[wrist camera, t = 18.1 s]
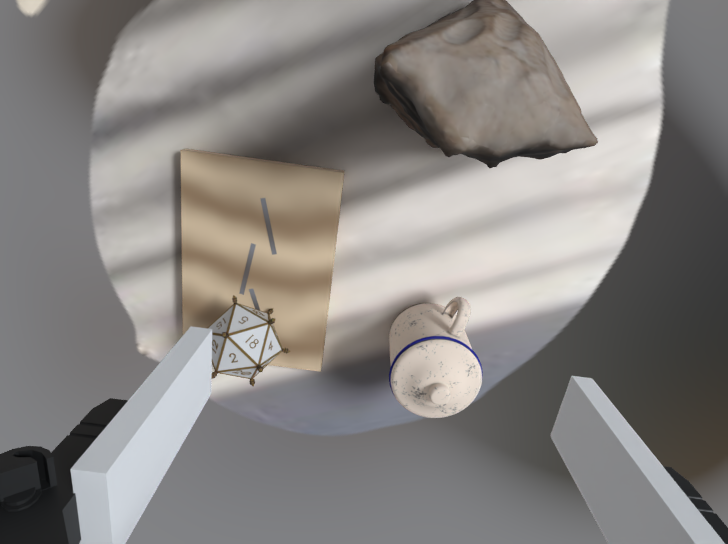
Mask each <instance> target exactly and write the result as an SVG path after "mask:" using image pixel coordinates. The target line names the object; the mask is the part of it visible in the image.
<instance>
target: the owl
mask: <svg viewBox="0 0 728 544" xmlns="http://www.w3.org/2000/svg"><path fill="white" fill-rule="evenodd" d="M374 86H375V91H376V93H377V94H378V95H379V96H380V100H381V101H382V102H383V103H385V104H390V105H391V107H392V108H393V109H394V110H395V111H396V113H397V114H398V115H399V117H400V118H401V119H402V120H403V121H404V122H405V123H406V124H407V125H408V127H409V128H411V129H413V130H415V131H416V132H417V133H418V134H420V135H421V136H422V137H424V139H425V140H426V142H427V143H428V145H430V146H431V147H434V148H441V149H442V151H443V152H444V154H445V155H446V156H448V157H450V156H452V155H458V154H463V155H466V156H468V157H471V158H475V159H477V160H479V161H481V162H483V163H485V164H487V166H488V167H489V168H492V167H497V165H498V164H499V163H500V162H502V161H505V160H507V159H510V158H513V157H517V156H521V157H530V158H536V159H544V158H548V157H551V156H554V155H556V154H558V153H567V152H569V151H571V150H573V149H580V148H586V147H591V146H595V145H596V144H597V143H598V141H597V138H596V137H595V136H594V134H593V133H592V131H591V130H590V128H589V126H588V124H587V123H586V121H585V119H584V117H583V115H582V114H581V109H580V107H579V105H578V103H577V101H576V99H575V98H574V96H573V94H572V92H571V90H570V88H569V86H568V84H567V83H566V81H565V79H564V77H563V74H562V72H561V70H560V69H559V67H558V65H557V63H556V62H555V60H554V58H553V57H552V55H551V54H550V52H549V50H548V49H547V47H546V45H545V44H544V42H543V40H542V39H541V37H540V35H539V34H538V33H537V32H536V31H535V30H534V29H533V28H532V27H530V26H529V25H528V24H527V23H526V22H525V21H524V19H523V18H522V17H521V16H520V15H519V14H518V13H517V12H516V11H515V10H514V8H513V7H512V6H511V5H510V4H509V3H508V2H507V1H506V0H474V1H472V2H471V3H470V4H469V5H467V6H466V7H465V8H463V9H460V10H458V11H456V12H454V13H452V14H450V15H447V16H445V17H443V18H441V19H439V20H438V21H437V22H435V23H433V24H431V25H429V26H428V27H427V28H424V29H421V30H418V31H415V32H412V33H410V34H407V35H405V36H404V37H402V38H401V39H399V40H398V41H397V42H395V43H393V44H391V45H388V46H387V47H386V48H385V49H384V52H383V53H382V54H380V55H379V56H378V57H376V59H375V74H374Z"/></svg>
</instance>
